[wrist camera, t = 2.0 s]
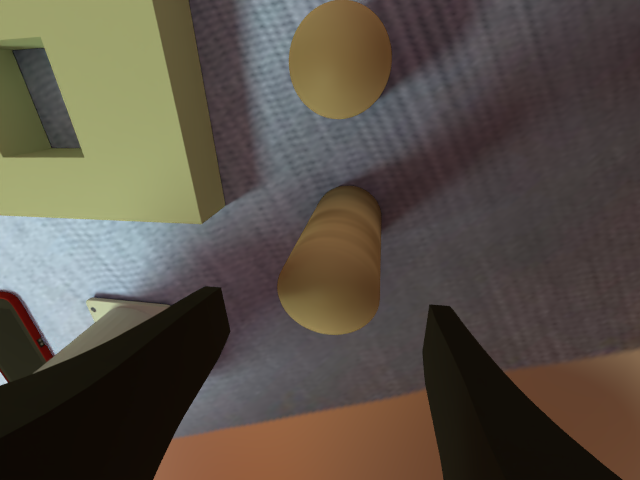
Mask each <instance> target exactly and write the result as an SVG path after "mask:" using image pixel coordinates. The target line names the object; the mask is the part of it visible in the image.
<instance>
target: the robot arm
mask: <svg viewBox="0 0 640 480" xmlns="http://www.w3.org/2000/svg"><path fill="white" fill-rule="evenodd" d="M86 304H87V306H88V308H89V310H90V313H91V315H92V317H93V319H94V321H95V323H94V324H93V325H91V326H90V327H89V328H88V329H87V330H85V331H84V332H83V333H82V334H80V335H79V336H78V337H77V338H76V339H74V340H73V341H72V342H71V343H70V344H68V345H67V346H66V347H65V348H63V349H62V350H61V351H60V352H59V353H57V354H56V355H55V356H54V357H53V358H51V359H50V360H49V361H48V362H46V363H45V364H44V365H43V366H42V367H40V368H39V369H38V370H37V371H36V372H34V373H33V374H31V375H28V376H26V377H23V378H20V379H18V380H15V381H12V382H9V383H7V384H4V385H1V386H0V480H153V479H154V476H155V474H156V472H157V470H158V467H159V465H160V463H161V460H162V459H163V456H164V455H165V452H166V450H167V448H168V446H169V444H170V442H171V440H172V438H173V436H174V434H175V432H176V430H177V428H178V426H179V424H180V423H181V421H182V419H183V417H184V415H185V414H186V412H187V410H188V409H189V407H190V405H191V404H192V402H193V400H194V399H195V397H196V395H197V394H198V392H199V390H200V389H201V387H202V385H203V384H204V382H205V380H206V379H207V377H208V375H209V374H210V372H211V370H212V369H213V367H214V365H215V364H216V362H217V360H218V358H219V357H220V354H221V352H222V350H223V348H224V345H225V343H226V341H227V338H228V336H229V333H230V327H229V323H228V318H227V313H226V309H225V304H224V299H223V294H222V290H221V288H220V287H208V286H205V287H203V288H201V289H199V290H197V291H196V292H194V293H192V294H190V295H189V296H187V297H185V298H183V299H182V300H180V301H178V302H177V303H175V304H173V305H172V306H170V305H166V304H155V303H145V302H134V301H124V300H114V299H103V298H93V297H92V298H90V299H88V300H87V301H86ZM423 365H424V377H425V385H426V390H427V395H428V400H429V405H430V410H431V415H432V420H433V425H434V430H435V435H436V439H437V444H438V449H439V454H440V460H441V466H442V471H443V479H444V480H622V479H621V478H620V477H618V476H617V475H616V474H614V473H613V472H612V471H611V470H610V469H608V468H607V467H606V466H604V465H603V464H602V463H601V462H600V461H599V460H597V459H596V458H595V457H594V456H593V455H591V454H590V453H589V452H588V451H587V450H585V449H584V448H583V447H582V446H581V445H580V444H578V443H577V442H576V441H575V440H573V439H572V438H571V437H570V436H569V435H568V434H567V433H565V432H564V431H563V430H562V429H561V428H560V427H559V426H558V425H556V424H555V423H554V422H553V421H552V420H551V419H550V418H549V417H548V416H547V415H546V414H545V413H544V412H542V411H541V410H540V409H539V408H538V407H537V406H536V405H535V404H534V403H533V402H532V401H531V400H530V399H529V398H528V397H527V396H526V395H525V394H524V393H523V392H522V391H521V390H520V389H519V388H518V387H517V386H516V385H515V384H514V383H513V382H512V381H511V380H510V378H509V377H508V376H507V375H506V374H505V373H504V372H503V371H502V370H501V369H500V368H499V366H498V365H497V364H496V363H495V362H494V361H493V360H492V358H491V357H490V356H489V355H488V354H487V352H486V351H485V350H484V349H483V348H482V347H481V345H480V344H479V343H478V342H477V340H476V339H475V338H474V337H473V335H472V334H471V333H470V332H469V330H468V329H467V328H466V326H465V325H464V324H463V322H462V321H461V320H460V318H459V317H458V316H457V314H456V313H455V312H454V310H453V309H452V308H451V307H450V306H442V305H429V311H428V318H427V325H426V332H425V338H424V345H423Z"/></svg>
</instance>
